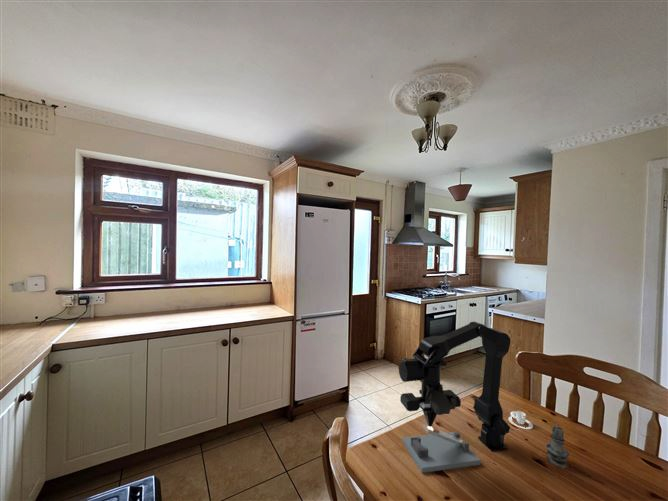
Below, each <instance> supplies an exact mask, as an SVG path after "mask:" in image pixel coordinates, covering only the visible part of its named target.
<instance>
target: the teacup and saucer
mask: <svg viewBox="0 0 668 501" xmlns="http://www.w3.org/2000/svg"><path fill="white" fill-rule="evenodd" d="M526 415H527V414H526V413H525V412H523V411H520V410H517V411H511V412H510V416H508V421H509V423H511V424H512V425H514V426H515V427H517V428H520V429H523V430H531V429H533V428H534V425H533V423H532V422H531V421H529V420H528V419H526V418H527V417H526ZM512 417H513V418H514V419H515V420H516V422H517V424H516V423H515V422H514V421H513V419H512ZM525 423H527V424H528V426H526V428H525V426H521V425H524V424H525ZM518 424H519V425H518Z"/></svg>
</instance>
